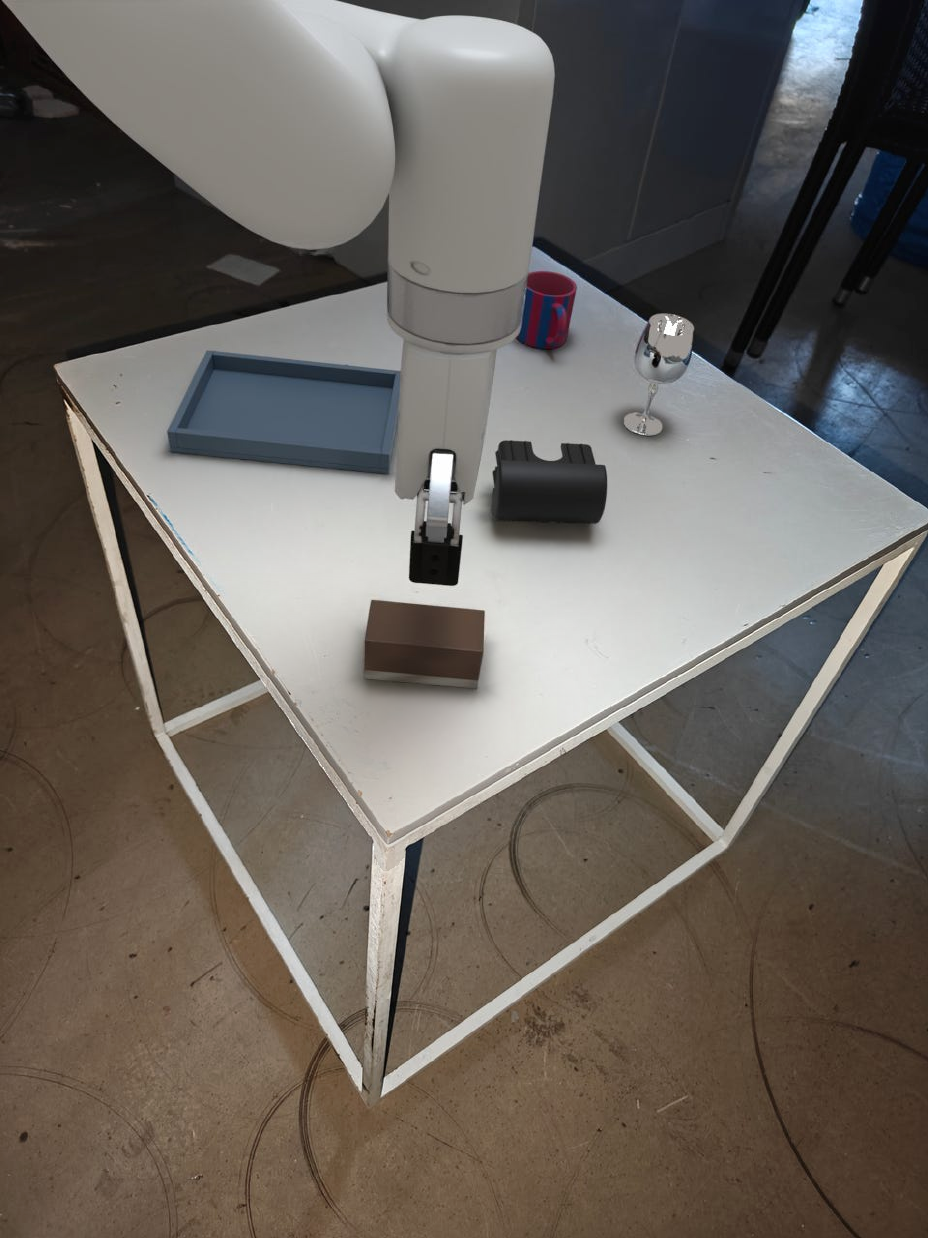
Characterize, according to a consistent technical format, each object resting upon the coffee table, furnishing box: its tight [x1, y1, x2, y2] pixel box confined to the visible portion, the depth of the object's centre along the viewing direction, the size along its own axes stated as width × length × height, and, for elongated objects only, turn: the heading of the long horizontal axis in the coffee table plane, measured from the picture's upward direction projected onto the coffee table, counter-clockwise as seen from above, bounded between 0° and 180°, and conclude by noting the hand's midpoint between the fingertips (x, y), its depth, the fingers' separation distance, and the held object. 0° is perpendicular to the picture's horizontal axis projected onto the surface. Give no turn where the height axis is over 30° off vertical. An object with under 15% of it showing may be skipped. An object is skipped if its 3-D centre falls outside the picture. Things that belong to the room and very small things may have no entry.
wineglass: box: [622, 313, 695, 437], centre depth 92 cm, size 6×6×12 cm
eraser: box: [363, 599, 486, 689], centre depth 68 cm, size 9×4×4 cm, turn 88°
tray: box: [166, 349, 401, 475], centre depth 90 cm, size 22×16×2 cm
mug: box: [515, 270, 578, 350], centre depth 105 cm, size 7×10×7 cm
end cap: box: [490, 439, 608, 525], centre depth 81 cm, size 10×7×7 cm
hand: (438, 532), depth 59 cm, fingers open, 9 cm apart
